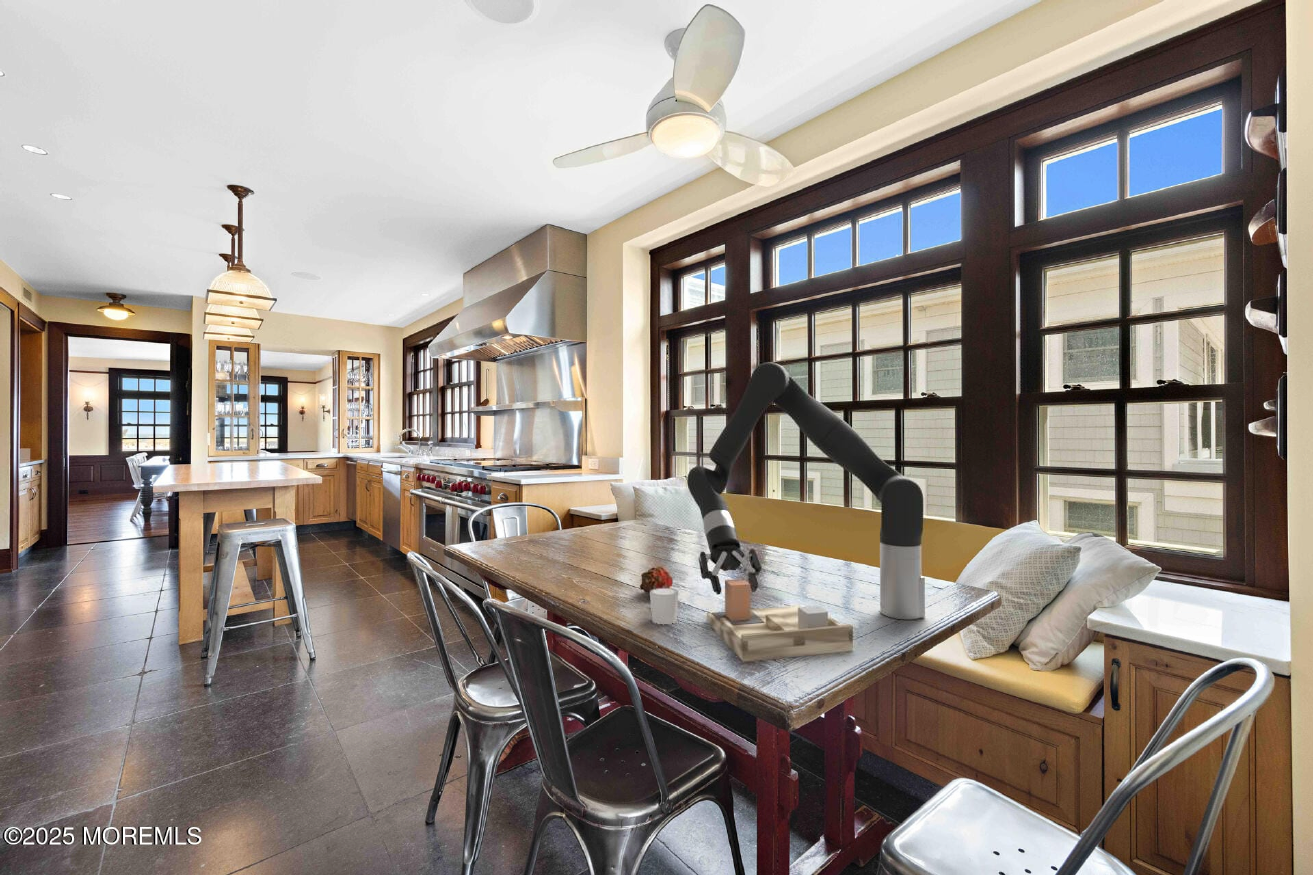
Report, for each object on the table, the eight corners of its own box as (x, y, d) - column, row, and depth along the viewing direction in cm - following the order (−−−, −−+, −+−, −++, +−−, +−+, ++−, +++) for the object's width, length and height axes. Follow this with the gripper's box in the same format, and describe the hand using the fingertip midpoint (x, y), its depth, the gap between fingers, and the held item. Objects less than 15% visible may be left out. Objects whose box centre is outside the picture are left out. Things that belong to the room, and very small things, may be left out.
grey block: (798, 630, 123) (798, 607, 123) (817, 628, 124) (817, 605, 124) (807, 637, 119) (807, 613, 119) (827, 635, 120) (827, 612, 120)
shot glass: (658, 627, 132) (658, 597, 132) (645, 618, 138) (644, 589, 138) (684, 622, 135) (684, 592, 135) (670, 614, 141) (669, 585, 141)
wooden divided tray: (707, 621, 136) (706, 600, 136) (799, 613, 140) (799, 593, 140) (743, 661, 112) (743, 636, 112) (852, 650, 117) (852, 626, 117)
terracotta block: (725, 614, 134) (724, 580, 134) (743, 613, 135) (743, 579, 134) (731, 620, 129) (731, 585, 129) (750, 619, 130) (750, 584, 130)
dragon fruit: (649, 608, 151) (657, 601, 163) (675, 589, 150) (681, 584, 162) (631, 580, 153) (640, 576, 165) (656, 562, 152) (664, 558, 164)
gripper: (695, 525, 139) (710, 585, 128) (751, 522, 142) (770, 580, 131) (690, 543, 144) (704, 602, 133) (744, 540, 147) (762, 597, 136)
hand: (737, 591), depth 132 cm, fingers open, 8 cm apart
